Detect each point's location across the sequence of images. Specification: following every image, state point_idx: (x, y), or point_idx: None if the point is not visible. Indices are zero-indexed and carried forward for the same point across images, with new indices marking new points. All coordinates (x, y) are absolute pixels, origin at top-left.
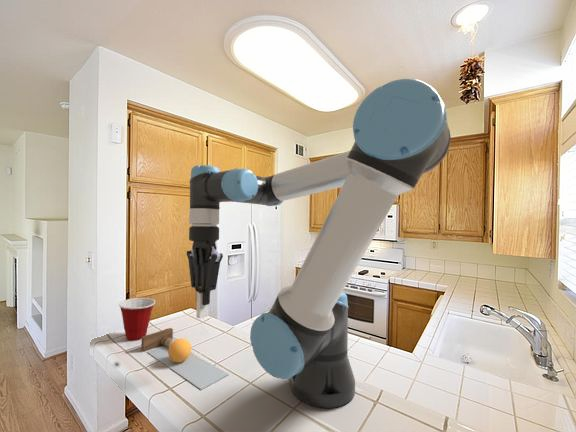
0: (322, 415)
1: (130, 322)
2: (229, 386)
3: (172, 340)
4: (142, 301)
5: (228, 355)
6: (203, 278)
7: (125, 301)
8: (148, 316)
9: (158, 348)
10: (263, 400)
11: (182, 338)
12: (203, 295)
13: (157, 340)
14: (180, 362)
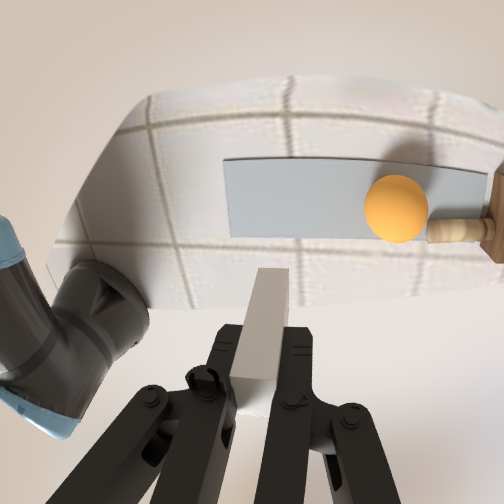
0: (68, 254)
1: None
2: (192, 210)
3: (465, 234)
4: None
5: (307, 287)
6: (163, 473)
7: None
8: None
9: (480, 202)
10: (122, 226)
11: (410, 232)
12: (223, 369)
13: (497, 213)
14: None
